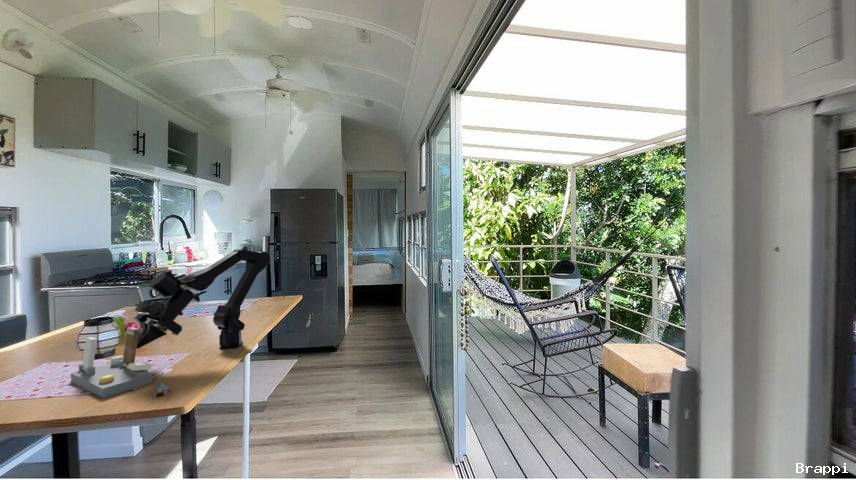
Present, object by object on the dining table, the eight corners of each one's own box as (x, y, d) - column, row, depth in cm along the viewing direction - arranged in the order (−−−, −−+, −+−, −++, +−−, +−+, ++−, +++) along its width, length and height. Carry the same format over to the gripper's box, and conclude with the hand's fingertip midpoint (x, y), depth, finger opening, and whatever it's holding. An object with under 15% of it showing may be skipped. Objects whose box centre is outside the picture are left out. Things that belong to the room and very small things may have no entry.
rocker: (143, 367, 104) (145, 362, 105) (150, 369, 103) (151, 364, 103) (127, 368, 101) (129, 363, 101) (134, 370, 99) (135, 365, 99)
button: (121, 361, 111) (121, 354, 111) (126, 363, 109) (126, 356, 109) (109, 365, 108) (108, 358, 108) (113, 366, 106) (113, 359, 106)
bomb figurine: (184, 389, 98) (184, 370, 98) (164, 402, 90) (163, 381, 90) (157, 389, 98) (156, 370, 98) (133, 402, 91) (133, 381, 90)
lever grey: (87, 366, 104) (91, 337, 105) (92, 368, 102) (97, 339, 103) (81, 367, 103) (86, 337, 104) (87, 369, 101) (91, 339, 102)
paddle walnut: (127, 362, 107) (132, 327, 108) (134, 365, 105) (139, 329, 106) (122, 363, 106) (127, 327, 107) (128, 366, 104) (133, 329, 105)
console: (118, 368, 112) (117, 354, 112) (152, 382, 101) (151, 366, 101) (71, 381, 102) (70, 366, 102) (102, 398, 92) (102, 381, 92)
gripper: (141, 288, 116) (98, 330, 106) (170, 292, 107) (126, 338, 97) (168, 307, 123) (130, 348, 113) (197, 313, 114) (159, 357, 104)
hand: (136, 347), depth 107 cm, fingers closed
